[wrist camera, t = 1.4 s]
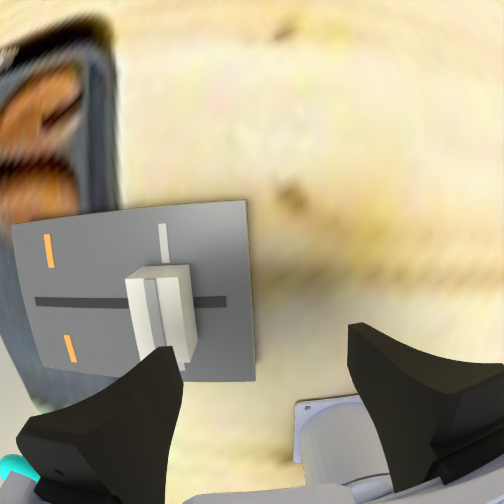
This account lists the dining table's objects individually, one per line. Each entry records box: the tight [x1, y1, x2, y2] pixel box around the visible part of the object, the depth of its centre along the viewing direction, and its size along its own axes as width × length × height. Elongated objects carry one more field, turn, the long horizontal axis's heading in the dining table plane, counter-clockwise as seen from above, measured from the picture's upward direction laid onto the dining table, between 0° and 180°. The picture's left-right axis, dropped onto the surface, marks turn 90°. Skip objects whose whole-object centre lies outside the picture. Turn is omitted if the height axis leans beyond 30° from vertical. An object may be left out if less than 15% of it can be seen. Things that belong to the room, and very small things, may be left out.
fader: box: [125, 264, 198, 363], centre depth 17 cm, size 3×5×3 cm, turn 3°
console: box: [11, 200, 256, 382], centre depth 20 cm, size 18×12×3 cm, turn 93°
